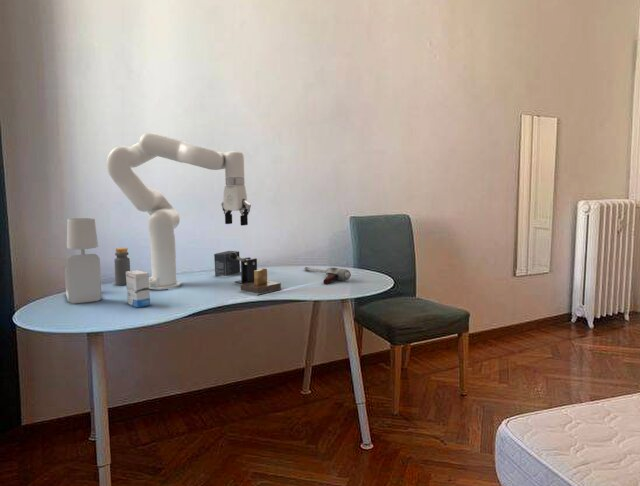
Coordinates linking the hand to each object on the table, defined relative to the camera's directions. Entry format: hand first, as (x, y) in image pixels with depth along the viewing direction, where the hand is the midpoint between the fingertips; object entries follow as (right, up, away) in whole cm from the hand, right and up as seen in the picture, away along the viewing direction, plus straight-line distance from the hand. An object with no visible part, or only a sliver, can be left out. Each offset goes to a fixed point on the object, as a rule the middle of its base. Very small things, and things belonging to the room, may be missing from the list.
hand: (236, 224), depth 214 cm
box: (-9, -23, +25) cm, 36 cm away
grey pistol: (+32, -24, +21) cm, 45 cm away
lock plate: (+11, -26, -6) cm, 29 cm away
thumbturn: (+11, -23, -7) cm, 27 cm away
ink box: (-29, -29, -28) cm, 49 cm away
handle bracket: (+4, -25, +7) cm, 26 cm away
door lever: (+1, -16, +2) cm, 16 cm away
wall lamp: (-52, -28, -19) cm, 62 cm away
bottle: (-49, -25, +6) cm, 55 cm away
